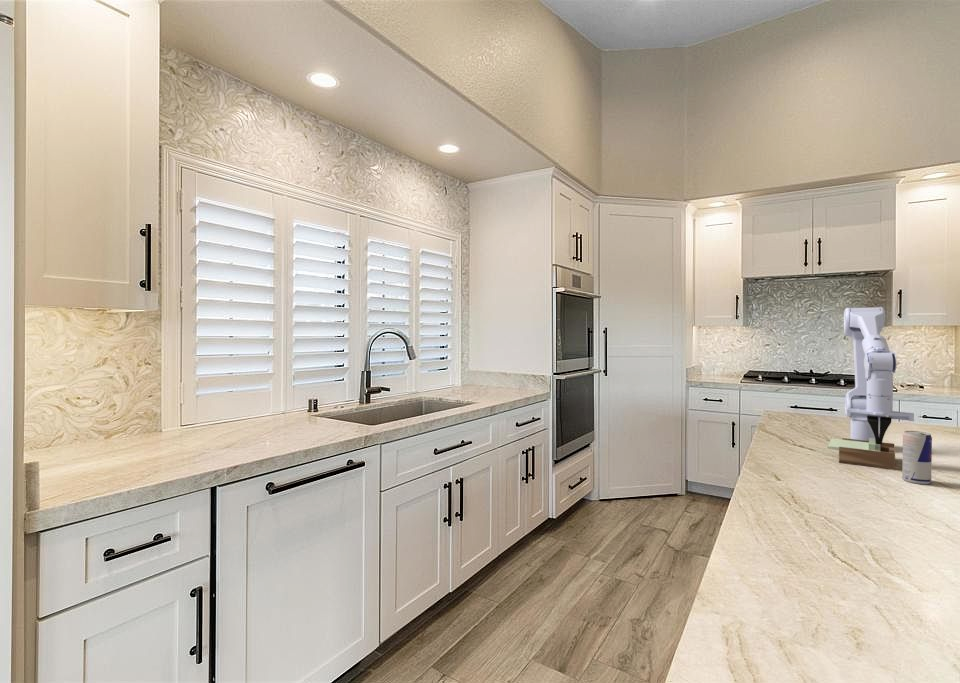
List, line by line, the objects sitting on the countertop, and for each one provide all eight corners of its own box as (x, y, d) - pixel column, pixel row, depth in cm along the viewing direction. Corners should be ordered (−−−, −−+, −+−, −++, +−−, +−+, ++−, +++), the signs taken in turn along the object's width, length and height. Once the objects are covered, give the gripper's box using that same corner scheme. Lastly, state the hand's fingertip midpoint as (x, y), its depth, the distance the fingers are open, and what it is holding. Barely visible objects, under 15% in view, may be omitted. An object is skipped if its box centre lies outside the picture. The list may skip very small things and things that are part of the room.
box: (842, 452, 150) (842, 438, 150) (894, 458, 142) (894, 443, 142) (838, 462, 139) (839, 447, 139) (894, 470, 131) (895, 453, 131)
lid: (831, 440, 151) (831, 433, 151) (880, 446, 143) (880, 438, 143) (827, 448, 141) (827, 440, 141) (880, 454, 134) (880, 446, 134)
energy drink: (937, 484, 119) (938, 435, 119) (914, 484, 119) (915, 435, 119) (918, 478, 125) (918, 430, 124) (896, 478, 125) (897, 430, 124)
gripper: (846, 394, 140) (845, 442, 140) (914, 399, 131) (913, 450, 131) (847, 392, 145) (847, 438, 146) (913, 396, 136) (912, 445, 137)
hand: (878, 443), depth 139 cm, fingers closed
